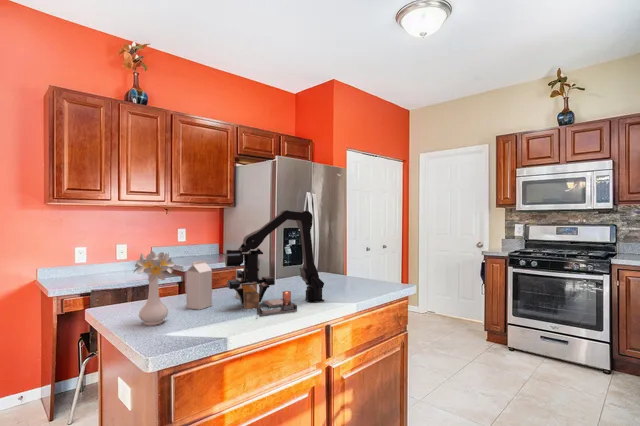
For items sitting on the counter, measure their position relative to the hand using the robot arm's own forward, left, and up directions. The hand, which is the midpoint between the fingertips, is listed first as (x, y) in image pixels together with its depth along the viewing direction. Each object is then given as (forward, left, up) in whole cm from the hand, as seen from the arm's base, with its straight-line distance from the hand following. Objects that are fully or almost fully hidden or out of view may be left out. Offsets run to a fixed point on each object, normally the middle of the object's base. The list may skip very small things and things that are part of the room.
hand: (251, 303), depth 148 cm
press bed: (-10, +1, -2) cm, 11 cm away
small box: (-3, -18, -2) cm, 18 cm away
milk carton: (+19, -10, -2) cm, 22 cm away
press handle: (-10, +13, 0) cm, 17 cm away
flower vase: (+36, +5, -2) cm, 37 cm away
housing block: (0, 0, -2) cm, 2 cm away
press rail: (-6, +13, -2) cm, 15 cm away
